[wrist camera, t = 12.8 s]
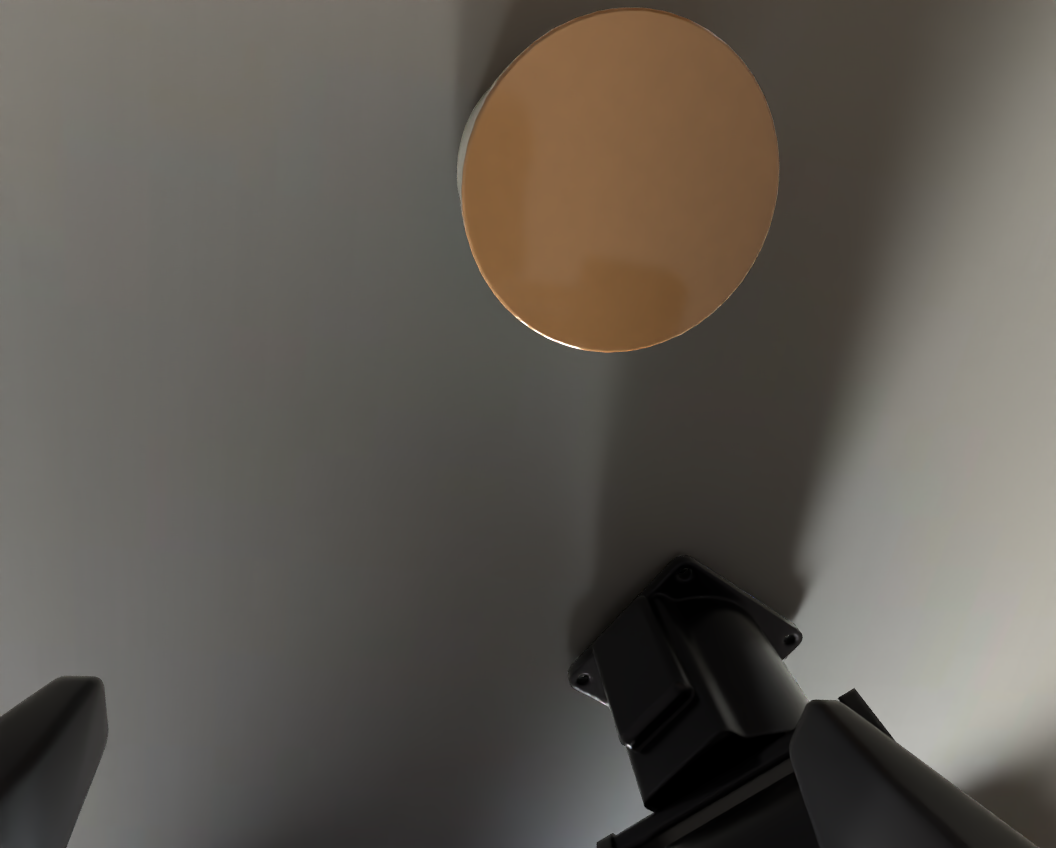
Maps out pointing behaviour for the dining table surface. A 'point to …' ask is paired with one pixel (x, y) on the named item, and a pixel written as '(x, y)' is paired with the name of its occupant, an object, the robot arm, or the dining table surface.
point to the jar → (619, 179)
